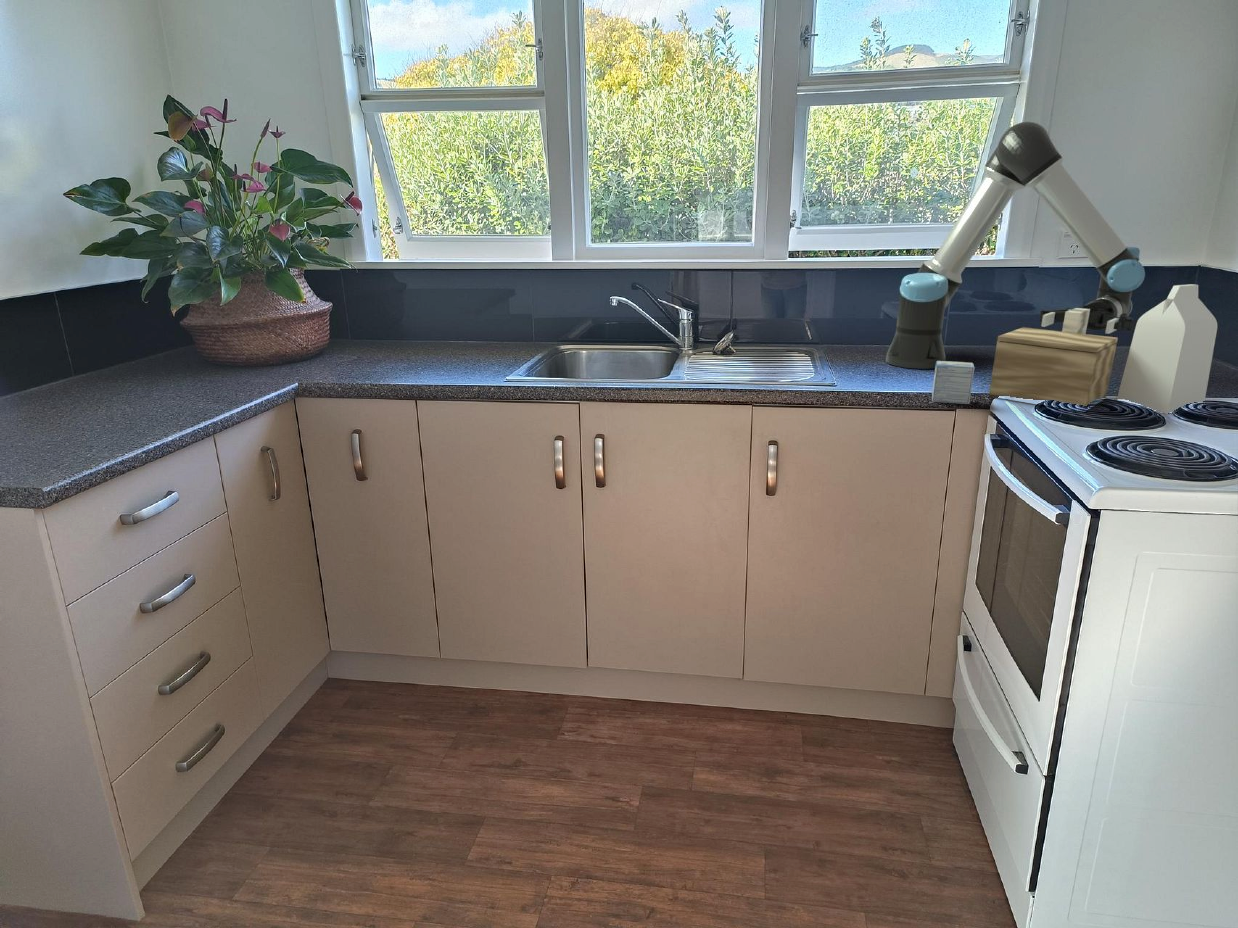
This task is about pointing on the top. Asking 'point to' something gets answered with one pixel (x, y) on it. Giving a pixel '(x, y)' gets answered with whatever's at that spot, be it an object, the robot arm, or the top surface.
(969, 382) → the grey wooden block
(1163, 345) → the milk
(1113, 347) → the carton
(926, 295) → the robot arm
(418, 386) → the top surface
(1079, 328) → the lid
